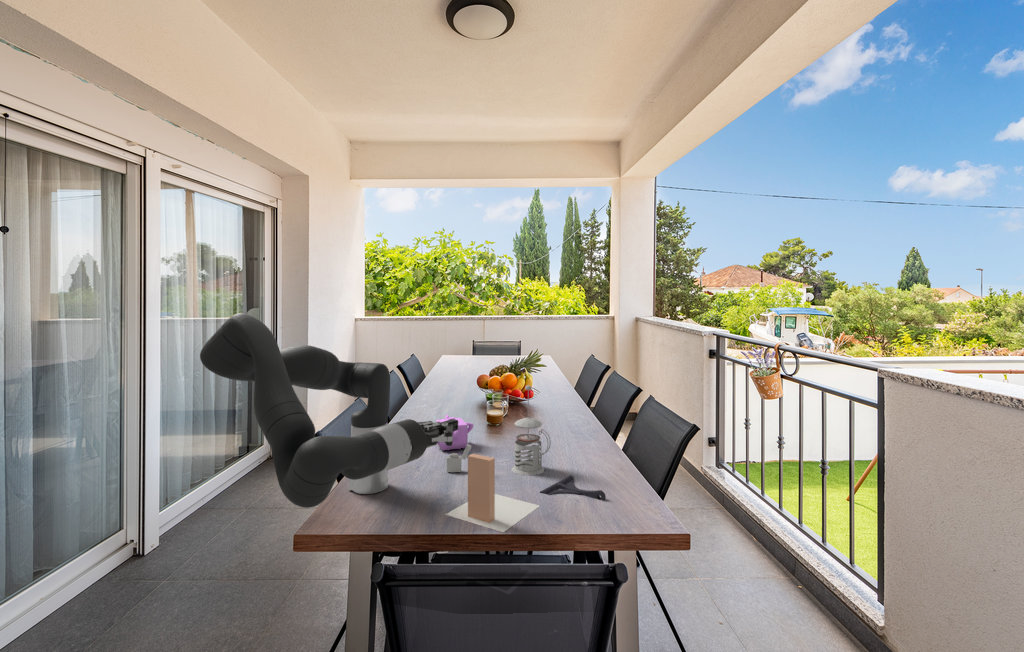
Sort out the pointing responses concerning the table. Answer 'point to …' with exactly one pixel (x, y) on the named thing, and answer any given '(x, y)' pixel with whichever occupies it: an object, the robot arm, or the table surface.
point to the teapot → (457, 434)
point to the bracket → (572, 489)
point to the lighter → (457, 460)
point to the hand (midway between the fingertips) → (455, 424)
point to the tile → (481, 487)
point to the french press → (528, 447)
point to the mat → (498, 513)
